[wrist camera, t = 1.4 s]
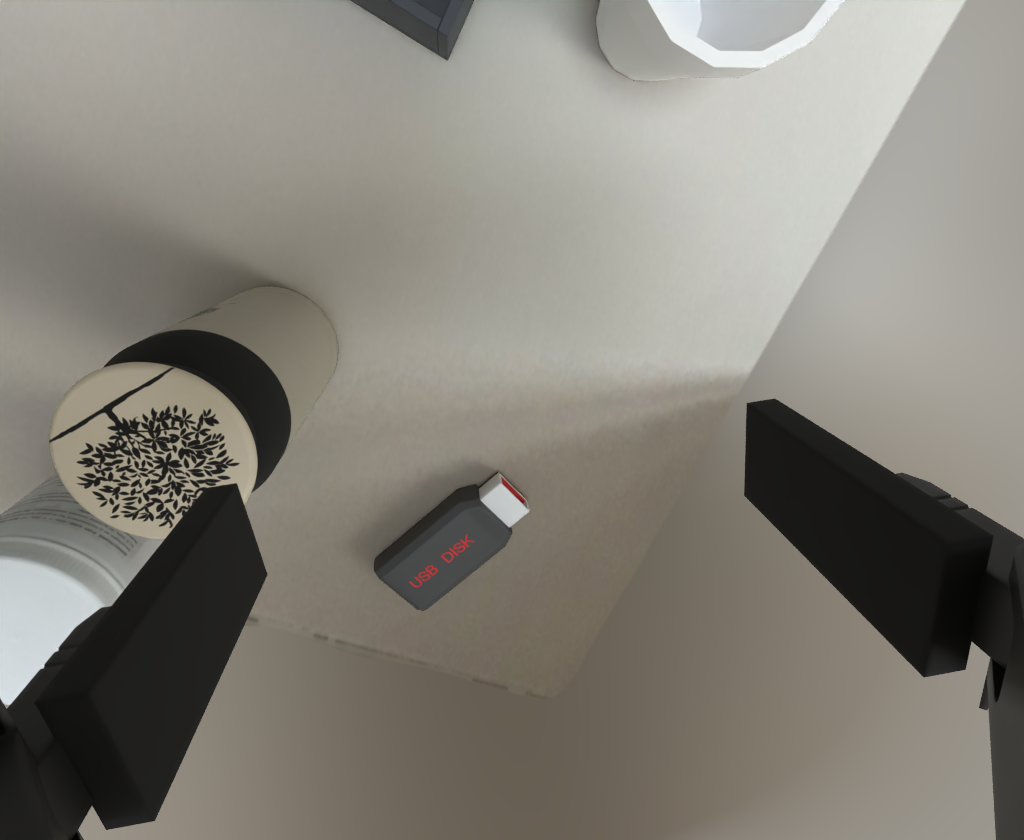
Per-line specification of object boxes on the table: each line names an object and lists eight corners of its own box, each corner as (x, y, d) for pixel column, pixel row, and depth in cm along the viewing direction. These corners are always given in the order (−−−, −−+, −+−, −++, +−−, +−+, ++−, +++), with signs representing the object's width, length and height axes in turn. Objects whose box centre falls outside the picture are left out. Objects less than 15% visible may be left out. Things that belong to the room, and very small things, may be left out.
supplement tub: (49, 455, 41) (-152, 589, 27) (179, 411, 40) (43, 523, 27) (126, 567, 44) (-17, 734, 31) (246, 526, 44) (156, 677, 30)
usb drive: (374, 558, 46) (370, 580, 44) (489, 462, 44) (492, 478, 42) (421, 598, 48) (420, 620, 45) (534, 506, 46) (539, 524, 43)
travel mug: (359, 377, 41) (298, 504, 24) (253, 419, 41) (121, 573, 24) (303, 266, 38) (191, 324, 21) (190, 312, 38) (-10, 405, 22)
